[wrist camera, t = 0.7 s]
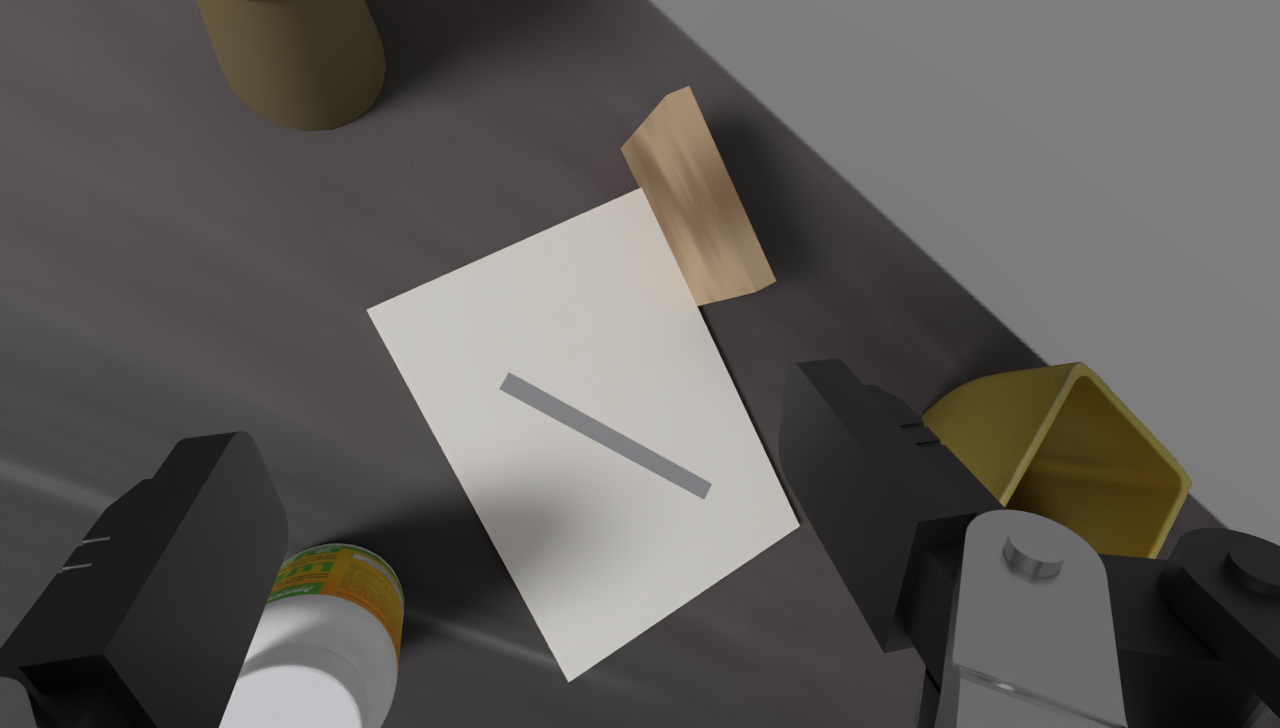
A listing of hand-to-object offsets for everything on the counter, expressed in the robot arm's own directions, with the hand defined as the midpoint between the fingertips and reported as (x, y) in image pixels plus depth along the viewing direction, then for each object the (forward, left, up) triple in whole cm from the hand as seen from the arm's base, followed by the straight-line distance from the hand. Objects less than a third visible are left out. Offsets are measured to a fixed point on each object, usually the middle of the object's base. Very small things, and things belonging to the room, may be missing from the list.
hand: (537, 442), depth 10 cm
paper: (+4, +5, -18) cm, 19 cm away
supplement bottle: (+5, -8, -18) cm, 21 cm away
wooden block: (-3, +12, -18) cm, 22 cm away
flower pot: (+15, +20, -18) cm, 31 cm away
